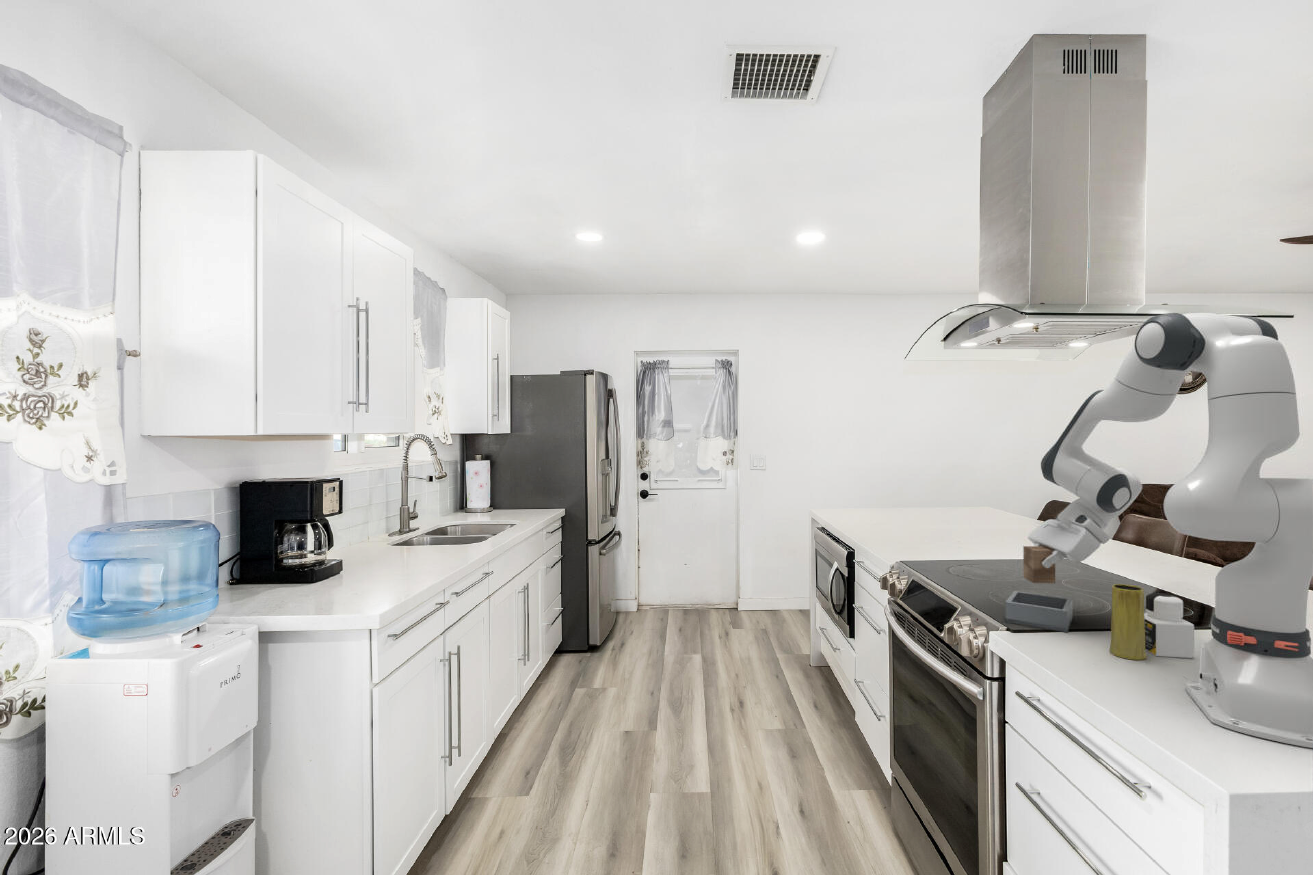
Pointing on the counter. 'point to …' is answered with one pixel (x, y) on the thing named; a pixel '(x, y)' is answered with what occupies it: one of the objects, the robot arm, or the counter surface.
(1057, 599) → the bin
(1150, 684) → the counter surface
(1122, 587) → the vase
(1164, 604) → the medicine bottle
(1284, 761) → the counter surface
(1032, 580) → the block
